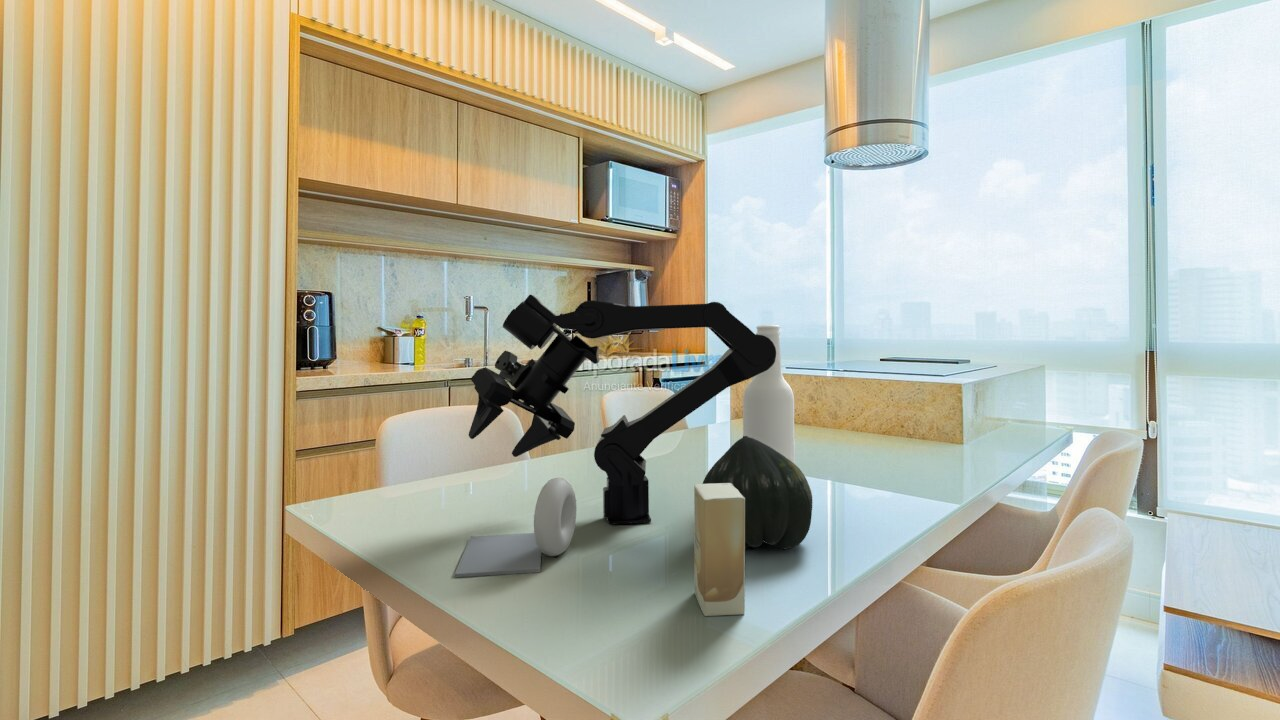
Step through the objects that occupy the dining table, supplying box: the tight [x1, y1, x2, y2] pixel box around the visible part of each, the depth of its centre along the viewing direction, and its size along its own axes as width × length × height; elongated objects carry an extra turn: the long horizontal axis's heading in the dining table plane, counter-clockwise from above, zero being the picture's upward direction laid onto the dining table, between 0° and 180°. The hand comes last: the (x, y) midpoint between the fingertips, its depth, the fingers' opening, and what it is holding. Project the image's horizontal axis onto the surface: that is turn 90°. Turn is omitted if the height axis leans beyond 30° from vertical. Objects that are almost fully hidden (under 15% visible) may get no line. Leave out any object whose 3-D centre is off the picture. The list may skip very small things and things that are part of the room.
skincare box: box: [693, 483, 746, 617], centre depth 65 cm, size 6×4×12 cm
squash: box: [702, 435, 813, 550], centre depth 85 cm, size 14×15×15 cm
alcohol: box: [742, 324, 795, 464], centre depth 108 cm, size 9×9×30 cm
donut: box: [533, 477, 577, 557], centre depth 81 cm, size 10×3×10 cm, turn 168°
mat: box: [454, 532, 542, 578], centre depth 81 cm, size 10×14×1 cm
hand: (492, 446), depth 96 cm, fingers open, 9 cm apart
